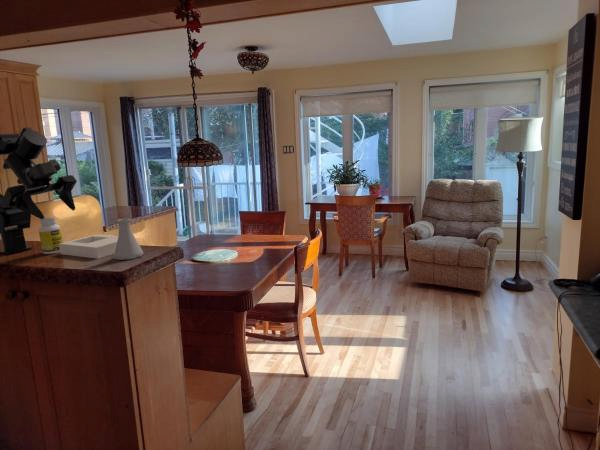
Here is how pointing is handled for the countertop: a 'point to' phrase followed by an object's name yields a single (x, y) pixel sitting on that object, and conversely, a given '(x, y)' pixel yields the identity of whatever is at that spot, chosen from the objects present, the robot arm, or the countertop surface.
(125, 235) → the flask
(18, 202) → the robot arm
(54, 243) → the supplement bottle
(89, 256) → the block
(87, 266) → the countertop surface
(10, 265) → the countertop surface
